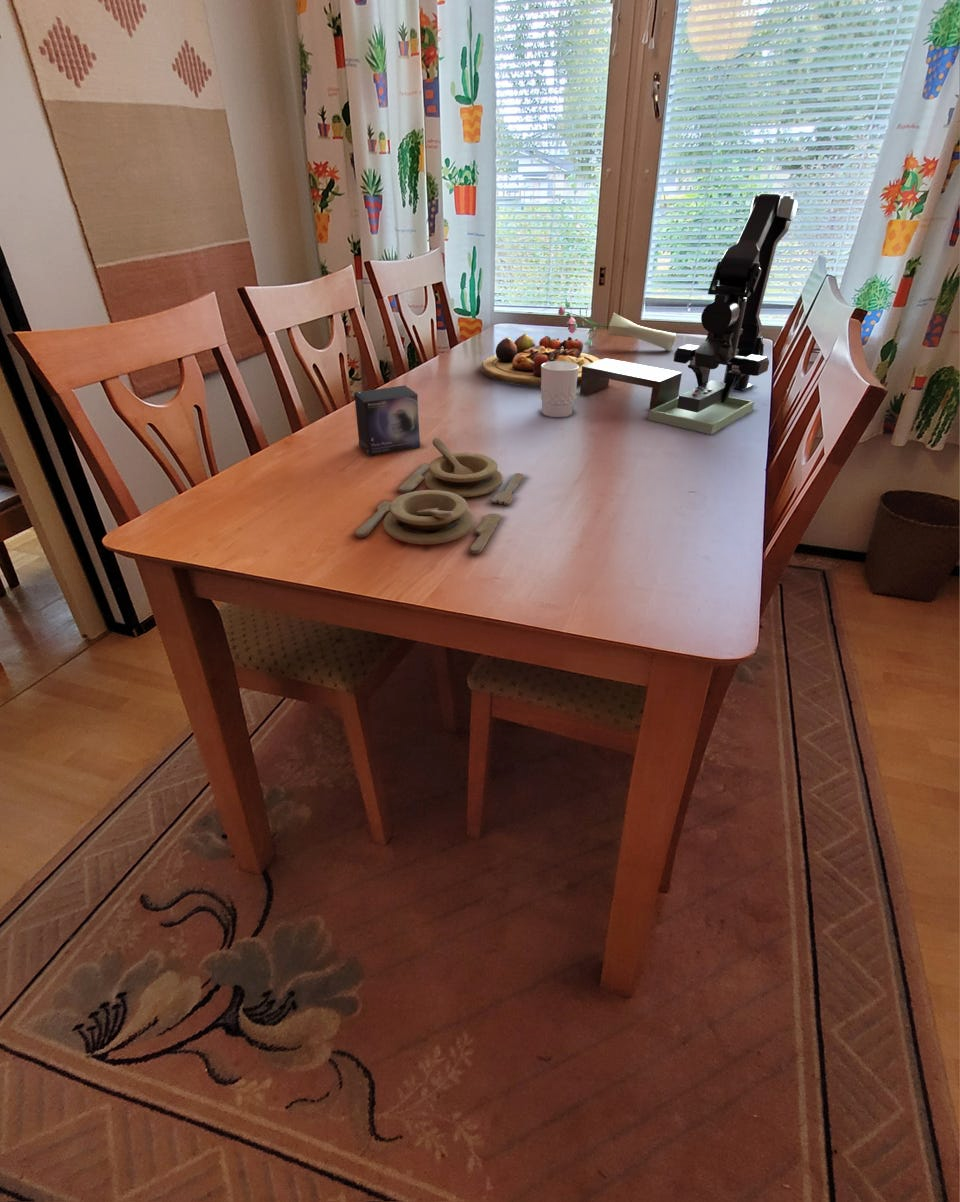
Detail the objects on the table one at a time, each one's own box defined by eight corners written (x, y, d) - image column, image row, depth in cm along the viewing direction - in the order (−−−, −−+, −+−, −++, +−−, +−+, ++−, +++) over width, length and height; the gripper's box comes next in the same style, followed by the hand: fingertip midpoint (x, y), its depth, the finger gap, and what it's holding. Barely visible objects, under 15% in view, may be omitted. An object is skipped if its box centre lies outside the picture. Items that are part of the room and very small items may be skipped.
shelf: (602, 385, 159) (605, 358, 155) (677, 401, 148) (682, 372, 144) (579, 394, 153) (581, 366, 149) (655, 411, 142) (659, 381, 138)
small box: (369, 457, 121) (363, 401, 115) (358, 446, 125) (352, 391, 119) (421, 447, 125) (418, 392, 119) (409, 437, 129) (405, 384, 123)
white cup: (579, 409, 143) (583, 363, 138) (568, 420, 137) (572, 372, 132) (546, 405, 146) (548, 359, 140) (533, 415, 140) (535, 368, 135)
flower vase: (659, 379, 190) (546, 345, 194) (666, 357, 197) (557, 324, 201) (674, 343, 181) (554, 308, 184) (680, 321, 188) (565, 287, 191)
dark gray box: (709, 392, 144) (711, 378, 142) (729, 396, 142) (731, 382, 140) (676, 408, 135) (679, 394, 133) (697, 412, 132) (700, 398, 131)
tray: (692, 398, 150) (693, 389, 149) (752, 410, 142) (754, 401, 141) (648, 419, 138) (649, 410, 136) (711, 434, 130) (713, 424, 128)
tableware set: (478, 557, 90) (478, 518, 86) (349, 538, 94) (344, 501, 91) (527, 475, 113) (528, 442, 110) (422, 463, 118) (420, 431, 115)
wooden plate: (591, 394, 153) (594, 358, 148) (464, 383, 162) (463, 348, 157) (613, 361, 178) (616, 329, 173) (502, 353, 187) (502, 322, 182)
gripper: (666, 324, 133) (655, 400, 142) (755, 337, 123) (738, 418, 131) (691, 316, 140) (679, 389, 148) (778, 327, 129) (760, 405, 138)
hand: (712, 400), depth 141 cm, fingers closed on dark gray box, 4 cm apart
